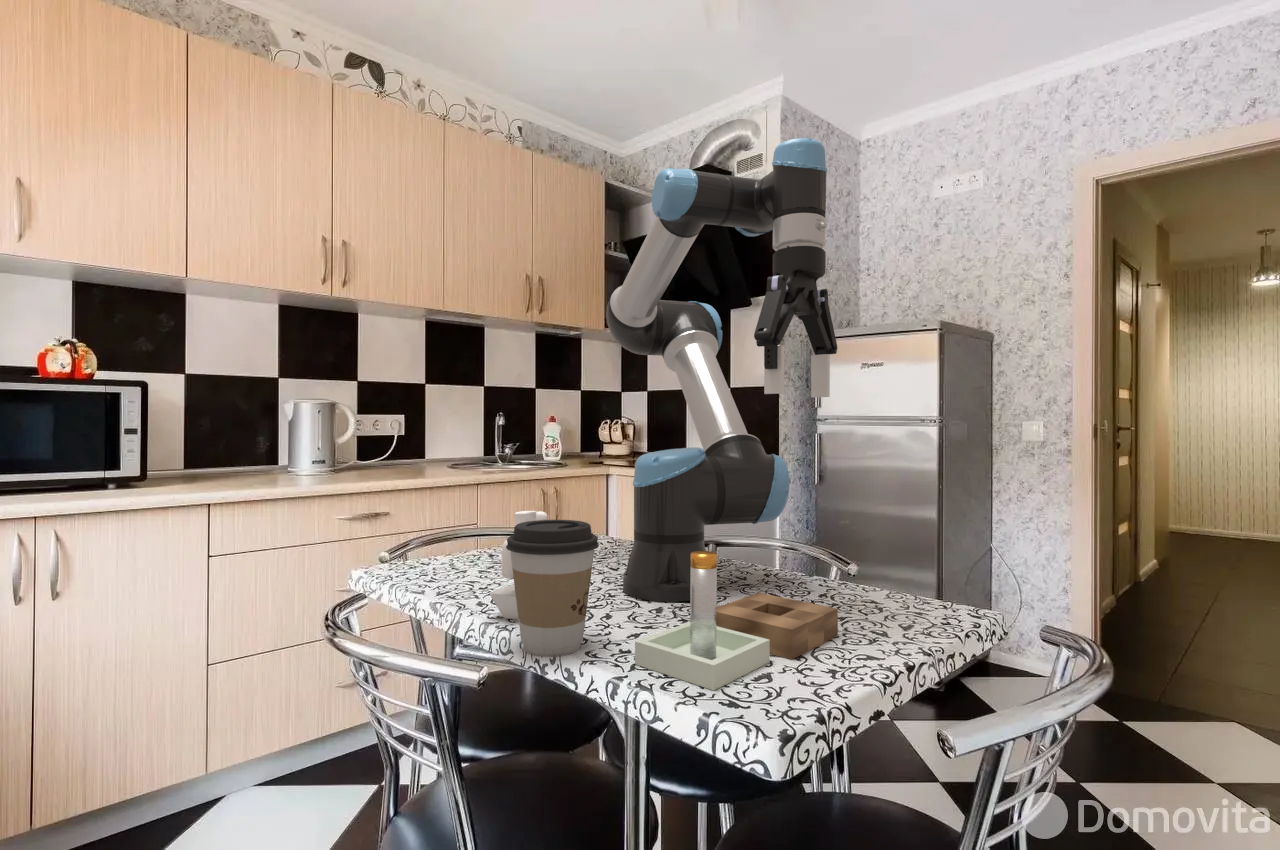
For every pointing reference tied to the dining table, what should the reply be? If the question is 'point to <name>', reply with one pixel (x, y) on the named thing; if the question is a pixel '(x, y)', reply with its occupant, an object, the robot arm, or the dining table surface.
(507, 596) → the figurine
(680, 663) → the tray
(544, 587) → the coffee cup
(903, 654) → the dining table surface
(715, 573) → the clear capped vial
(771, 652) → the block
